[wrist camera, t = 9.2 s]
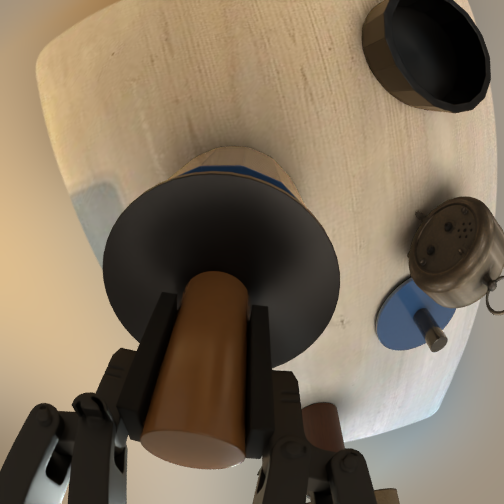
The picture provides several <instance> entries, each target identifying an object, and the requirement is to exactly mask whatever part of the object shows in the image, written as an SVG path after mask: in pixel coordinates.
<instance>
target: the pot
mask: <svg viewBox="0 0 504 504" xmlns="http://www.w3.org/2000/svg"><path fill="white" fill-rule="evenodd" d="M207 171H221V172H233V173H238V174H243V175H248V176H252V177H255V178H258V179H261V180H263V181H266V182H269V183H271V184H273V185H275V186H277V187H279V188H281V189H282V190H284V191H286V192H287V193H289V194H290V195H292V196H293V197H294V198H296V199H297V200H299V201H300V202H301V203H302V204H303V205H304V206H305V204H304V202H303V200H302V198H301V196H300V194H299V193H298V191H297V189H296V187H295V185H294V183H293V181H292V180H291V178H290V176H289V175H288V174H287V173H286V172H285V171H284V170H283V168H282V167H281V166H280V165H279V164H278V163H277V162H276V161H275V160H274V159H273V158H272V157H270V156H268V155H266V154H264V153H262V152H260V151H257V150H254V149H251V148H249V147H241V146H226V147H217V148H215V149H213V150H210V151H207V152H205V153H203V154H201V155H199V156H197V157H195V158H194V159H192V160H191V161H190V162H188V163H187V164H186V165H185V166H183V167H182V168H181V169H180V170H179V171H177V172H176V173H175V174H174V175H172V176H171V177H170V178H169V179H171V178H174V177H177V176H181V175H185V174H190V173H195V172H207ZM169 179H168V180H169ZM305 207H306V206H305Z"/></svg>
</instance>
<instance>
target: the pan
mask: <svg viewBox="0 0 504 504" xmlns="http://www.w3.org/2000/svg"><path fill="white" fill-rule="evenodd" d="M362 45H363V50H364V54H365V57H366V60H367V62H368V64H369V67H370V69H371V70H372V72H373V74H374V75H375V77H376V78H377V80H378V81H379V82H380V83H381V85H382V86H383V87H384V88H385V89H386V90H387V91H388V92H389V93H390V94H391V95H393V96H394V97H395V98H397V99H398V100H400V101H401V102H403V103H405V104H407V105H409V106H413V107H416V108H421V109H425V110H431V111H441V112H449V113H459V112H464V111H469V110H473V109H474V108H475V107H476V106H477V105H478V104H479V103H480V102H481V101H482V100H483V99H484V98H485V96H486V93H487V90H488V87H489V83H490V79H491V73H490V57H489V53H488V50H487V47H486V44H485V42H484V39H483V36H482V34H481V32H480V31H479V29H478V28H477V26H476V25H475V23H474V22H473V20H472V19H471V17H470V16H469V14H468V13H467V12H466V11H465V10H464V9H462V8H461V7H460V6H459V5H458V4H457V3H456V2H455V1H453V0H384V1H383V2H381V3H380V4H378V5H377V6H376V7H374V8H373V9H372V10H371V12H370V13H369V14H368V16H367V18H366V20H365V22H364V25H363V30H362Z"/></svg>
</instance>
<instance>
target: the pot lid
mask: <svg viewBox="0 0 504 504" xmlns="http://www.w3.org/2000/svg"><path fill="white" fill-rule="evenodd" d="M455 310H456V308H446V307H443V306H441V305H439V304H437V303H436V302H435V301H434V300H433V299H432V298H430V297H429V296H428V295H427V294H426V293H425V292H423V291H422V290H421V289H420V288H419V287H418V286H417V285H416V284H415V282H414V281H413V279H412V277H411V278H410V279H408V280H406V281H405V282H403V283H402V284H401V285H400V286H398V287H397V288H396V289H395V290H394V291H393V292H392V293H391V294H390V295H389V297H388V298H387V299H386V301H385V302H384V304H383V305H382V307H381V309H380V311H379V313H378V316H377V320H376V334H377V336H378V338H379V341H380V342H381V343H382V344H383V345H384V346H385V347H387V348H389V349H392V350H408V349H412V348H416V347H418V346H421V345H423V344H425V343H427V345H428V346H429V348H430V350H431V351H432V352H437V351H439V350H441V349H442V348H443V347H444V346H445V345H446V343H447V337H446V336H445V334H444V332H443V331H442V330H443V329H444V328H445V326H446V325H447V324H448V323H449V321H450V320H451V318H452V317H453V315H454V313H455Z"/></svg>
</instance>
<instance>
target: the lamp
mask: <svg viewBox="0 0 504 504" xmlns="http://www.w3.org/2000/svg"><path fill="white" fill-rule="evenodd" d="M302 418H303V426H304V433H305V436H306V438H307V440H308V441H309V442H310V443H311V444H312V445H314V446H315V447H318V448H321V449H324V450H328V451H333V452H338V451H339V450H342V449H345V447H344V442H343V437H342V432H341V427H340V422H339V417H338V412H337V408H336V406H335V405H333V404H331V403H316V404H312V405H309V406H307V407H305V408H304V409H302ZM374 493H375V497H376V501H377V504H400V503H399V498H398V494H397V490H396V489H394V488H387V489H379V490H374ZM307 498H309V499H310V494H309V491H307ZM305 504H311V502H309V503H305Z"/></svg>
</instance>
